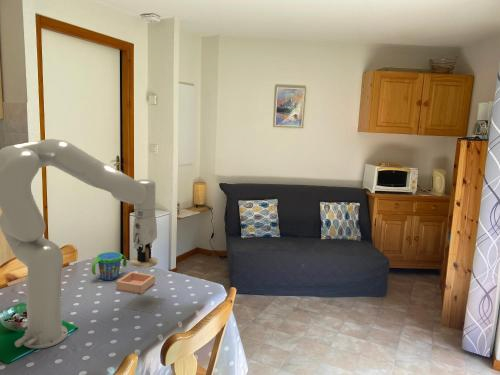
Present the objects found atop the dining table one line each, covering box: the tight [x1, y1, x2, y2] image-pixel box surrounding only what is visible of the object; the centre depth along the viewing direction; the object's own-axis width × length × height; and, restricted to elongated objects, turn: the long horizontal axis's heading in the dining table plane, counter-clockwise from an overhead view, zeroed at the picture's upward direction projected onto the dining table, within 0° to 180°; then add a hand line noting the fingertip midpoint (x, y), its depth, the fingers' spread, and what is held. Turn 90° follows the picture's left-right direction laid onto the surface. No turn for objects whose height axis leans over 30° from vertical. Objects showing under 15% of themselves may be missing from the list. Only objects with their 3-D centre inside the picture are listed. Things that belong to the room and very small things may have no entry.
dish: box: [115, 271, 156, 295], centre depth 158 cm, size 11×11×4 cm
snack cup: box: [91, 251, 128, 281], centre depth 167 cm, size 16×10×10 cm
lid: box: [130, 247, 159, 269], centre depth 143 cm, size 10×10×6 cm
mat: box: [122, 294, 167, 314], centre depth 145 cm, size 12×12×1 cm
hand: (144, 259), depth 144 cm, fingers closed on lid, 3 cm apart
